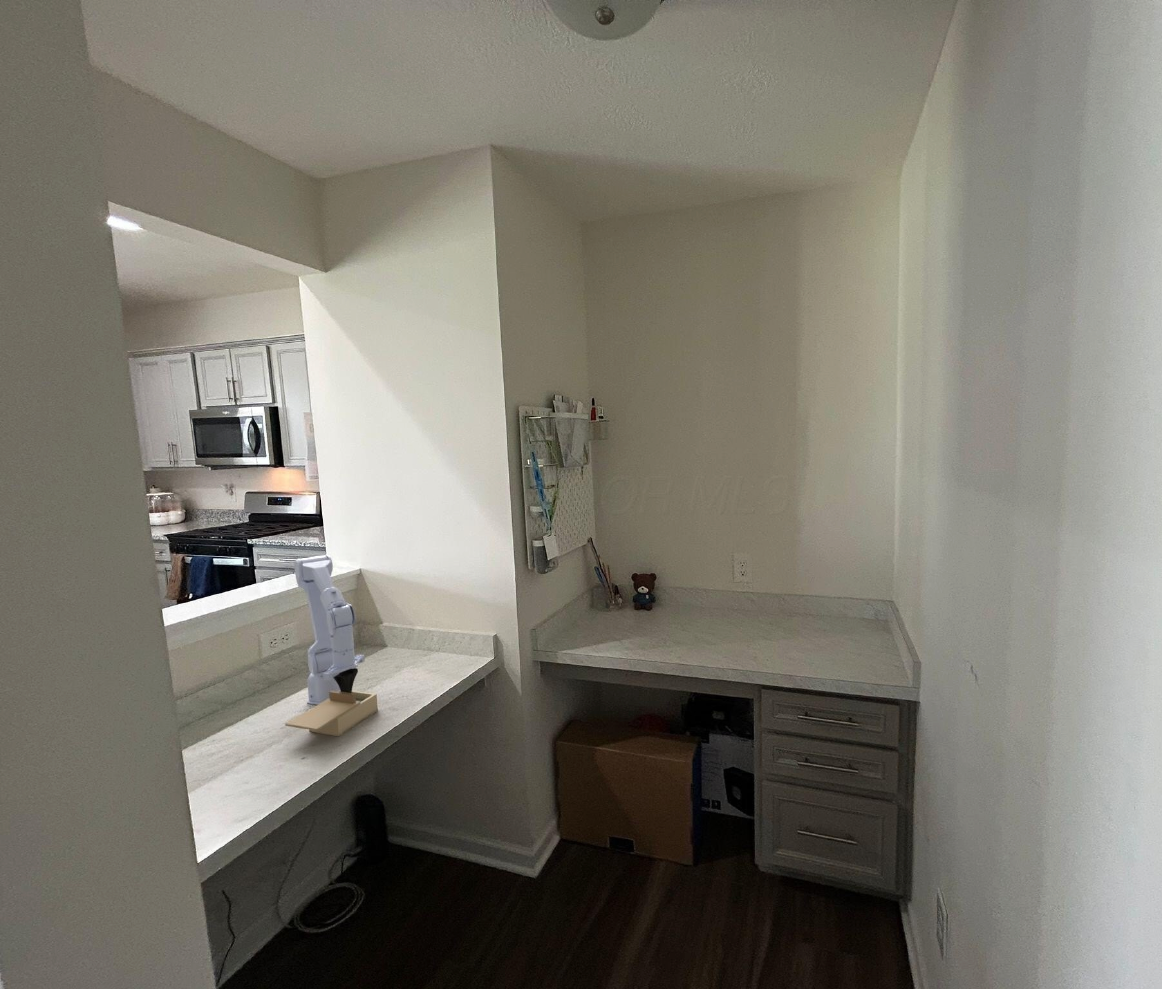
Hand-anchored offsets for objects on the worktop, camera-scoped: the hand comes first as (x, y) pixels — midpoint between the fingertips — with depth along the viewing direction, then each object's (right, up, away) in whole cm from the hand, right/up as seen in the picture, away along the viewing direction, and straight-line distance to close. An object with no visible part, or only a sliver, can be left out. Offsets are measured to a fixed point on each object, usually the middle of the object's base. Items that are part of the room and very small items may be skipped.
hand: (346, 695), depth 177 cm
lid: (-3, -3, -8) cm, 9 cm away
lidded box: (0, -7, -1) cm, 7 cm away
